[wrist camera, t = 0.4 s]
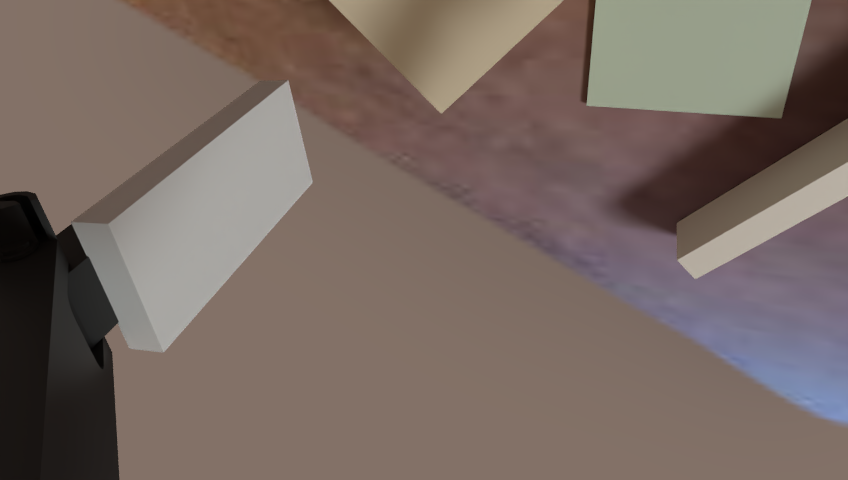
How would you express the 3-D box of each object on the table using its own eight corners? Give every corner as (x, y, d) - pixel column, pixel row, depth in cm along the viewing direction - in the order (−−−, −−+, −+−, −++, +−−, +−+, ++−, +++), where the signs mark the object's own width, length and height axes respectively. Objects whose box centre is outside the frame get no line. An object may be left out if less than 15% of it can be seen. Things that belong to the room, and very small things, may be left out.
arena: (489, 22, 38) (472, 44, 35) (821, -305, 27) (841, -316, 24) (693, 240, 42) (695, 279, 38) (1058, 28, 31) (1102, 57, 28)
